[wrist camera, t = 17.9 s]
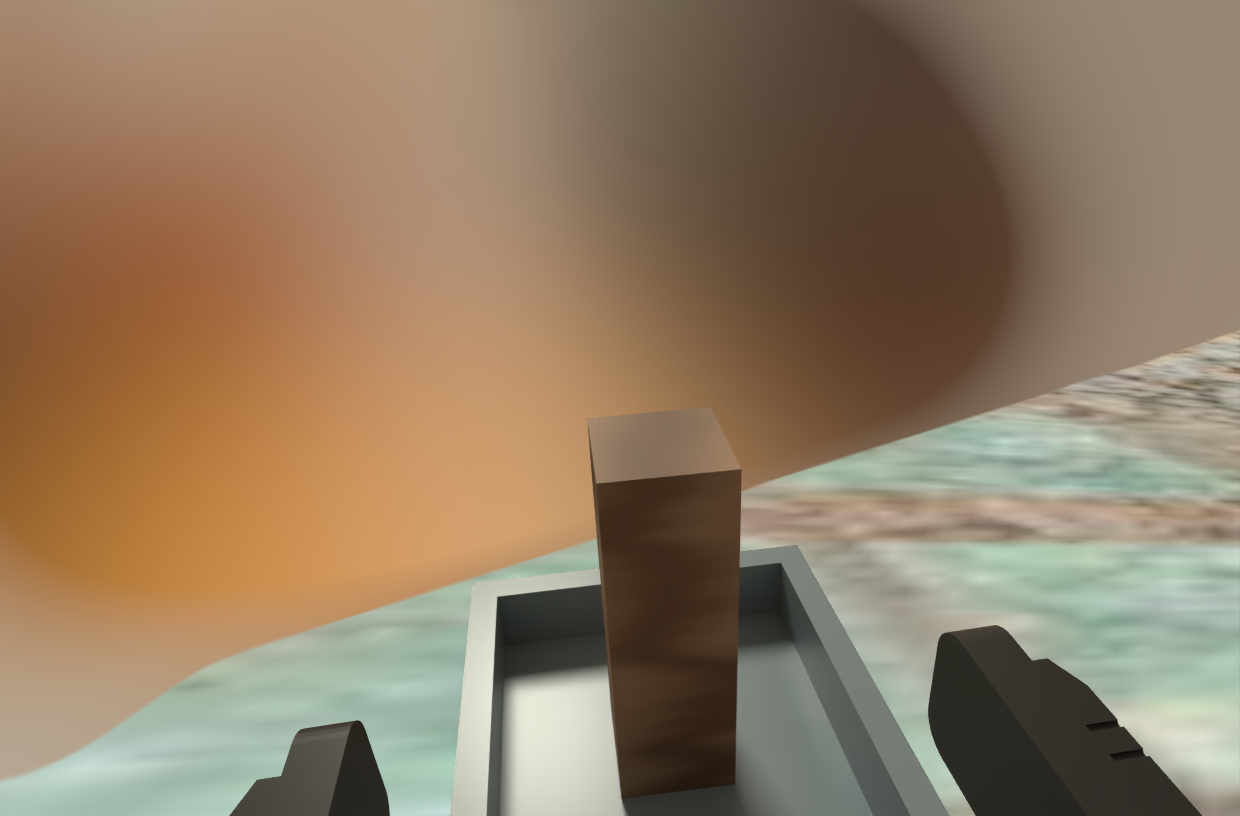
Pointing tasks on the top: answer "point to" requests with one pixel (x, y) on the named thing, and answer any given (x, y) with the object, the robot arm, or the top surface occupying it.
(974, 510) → the top surface
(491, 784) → the slate tray
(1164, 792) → the robot arm
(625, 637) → the walnut block
